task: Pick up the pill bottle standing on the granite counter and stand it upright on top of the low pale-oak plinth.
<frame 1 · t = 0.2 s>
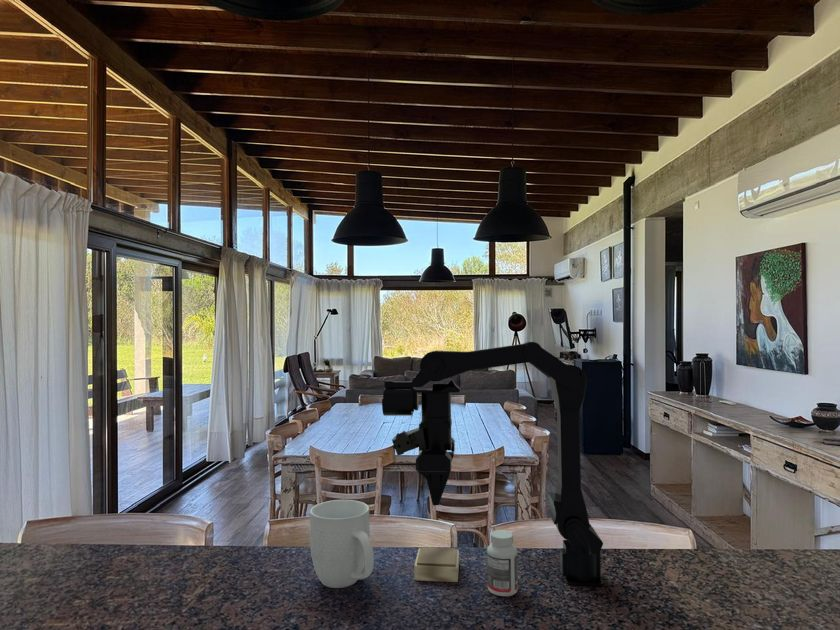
hand: (437, 497, 98), 14 cm above the kitchen counter, fingers open, 9 cm apart
mug: (342, 583, 94), on the kitchen counter
plinth: (437, 571, 98), on the kitchen counter
pill bottle: (502, 591, 91), on the kitchen counter
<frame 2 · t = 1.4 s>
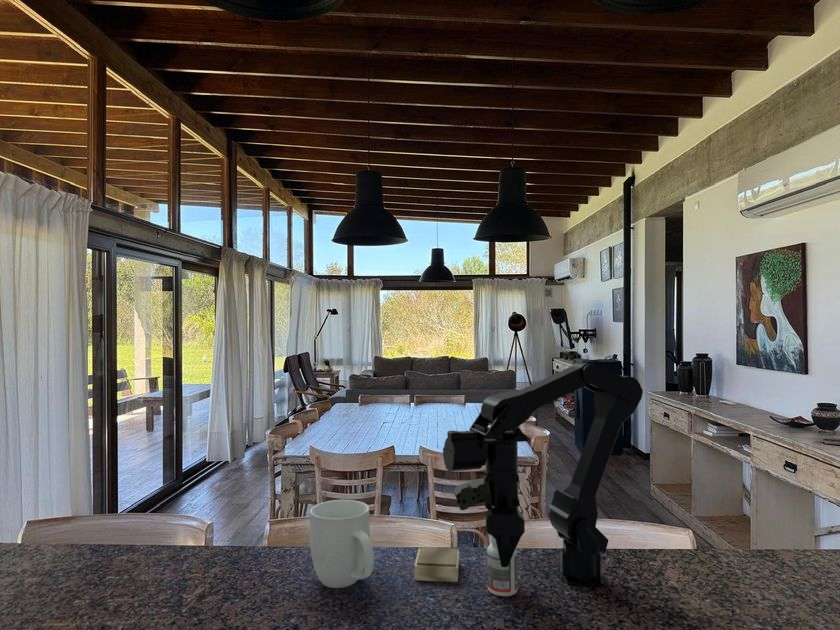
hand: (502, 555, 91), 6 cm above the kitchen counter, fingers open, 9 cm apart
nothing on the kitchen counter moved.
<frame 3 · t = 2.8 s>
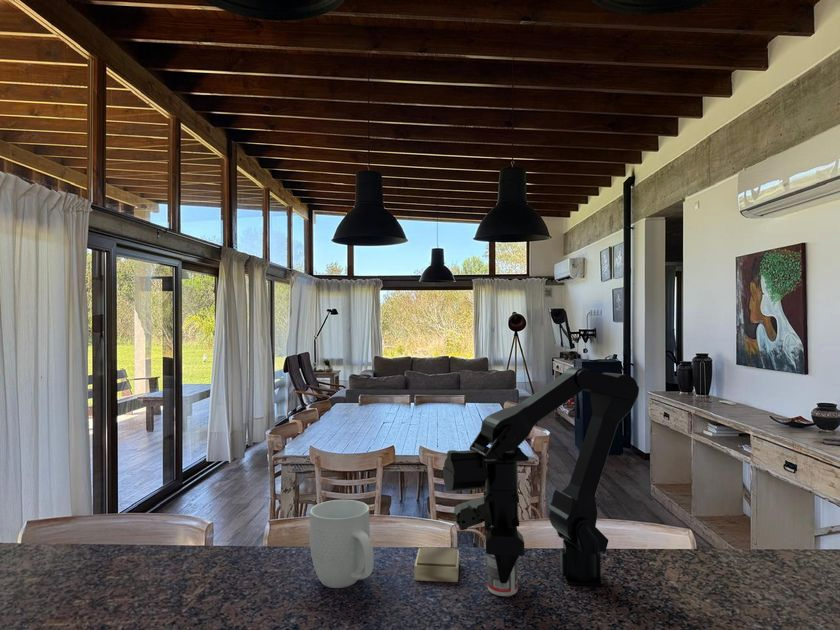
hand: (502, 575, 91), 3 cm above the kitchen counter, fingers closed on pill bottle, 5 cm apart
pill bottle: (502, 590, 91), on the kitchen counter, touching gripper
everything else where it was.
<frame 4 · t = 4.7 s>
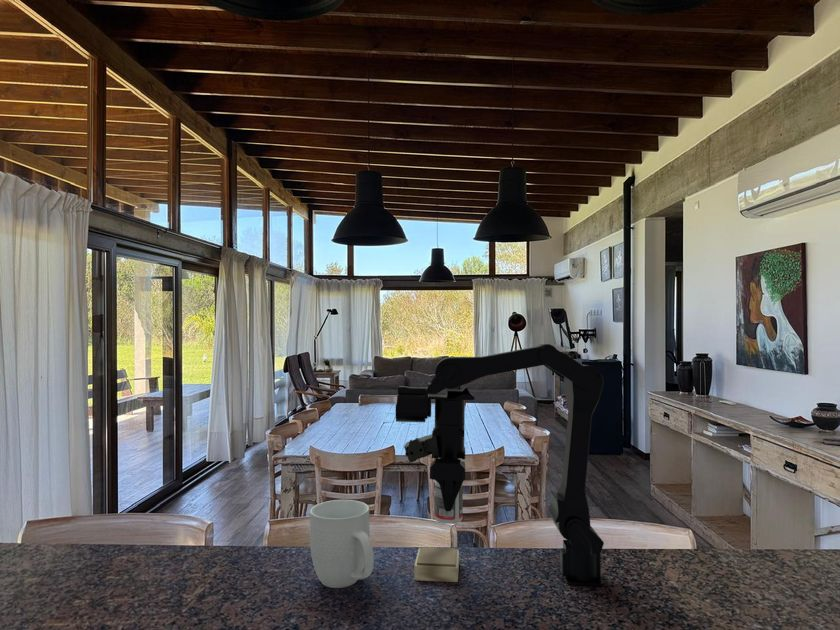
hand: (448, 505, 97), 13 cm above the kitchen counter, fingers closed on pill bottle, 5 cm apart
pill bottle: (448, 520, 97), point 10 cm above the kitchen counter, touching gripper
everything else where it was.
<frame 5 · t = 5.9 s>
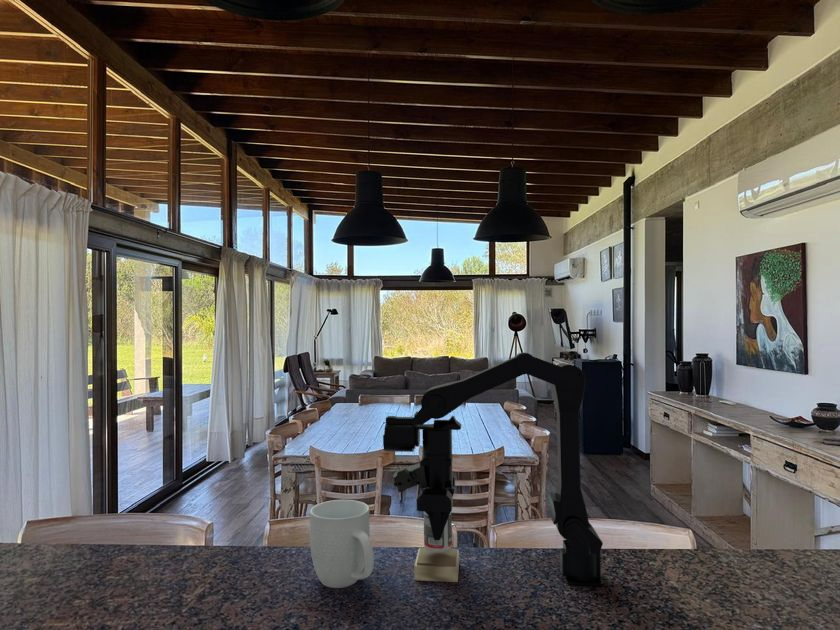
hand: (438, 534, 98), 7 cm above the kitchen counter, fingers closed on pill bottle, 5 cm apart
pill bottle: (437, 548, 98), point 4 cm above the kitchen counter, touching gripper
everything else where it was.
when the fingers open (6 cm above the kitchen counter, at t = 6.9 s): pill bottle stays where it is, resting on plinth.
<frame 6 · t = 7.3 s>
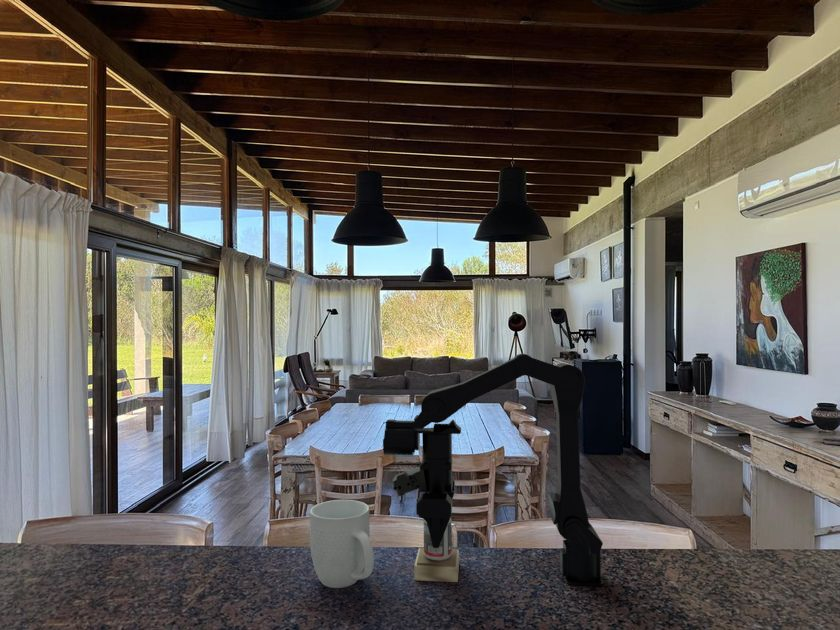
hand: (437, 538, 98), 6 cm above the kitchen counter, fingers open, 9 cm apart
pill bottle: (437, 556, 98), point 3 cm above the kitchen counter, touching plinth
everything else where it was.
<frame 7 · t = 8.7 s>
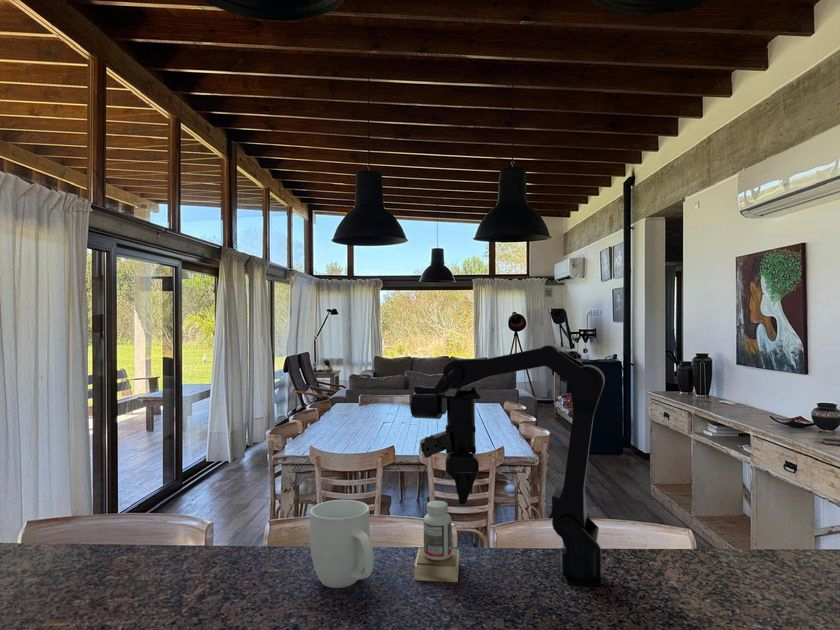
hand: (462, 497, 105), 12 cm above the kitchen counter, fingers open, 9 cm apart
nothing on the kitchen counter moved.
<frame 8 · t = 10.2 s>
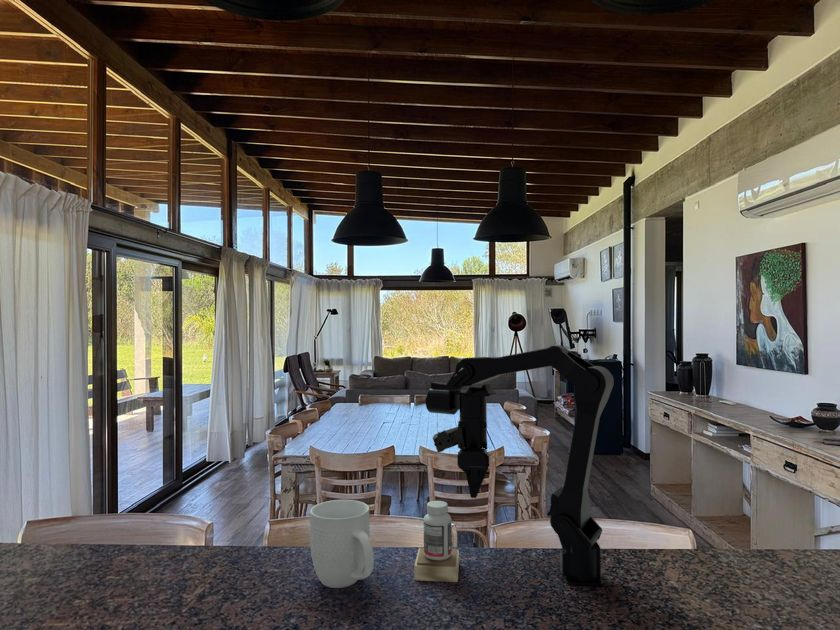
hand: (473, 490, 108), 13 cm above the kitchen counter, fingers open, 9 cm apart
nothing on the kitchen counter moved.
at the end: pill bottle 0.1 cm from the plinth (horizontally); pill bottle touching plinth; pill bottle tilted 0° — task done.
